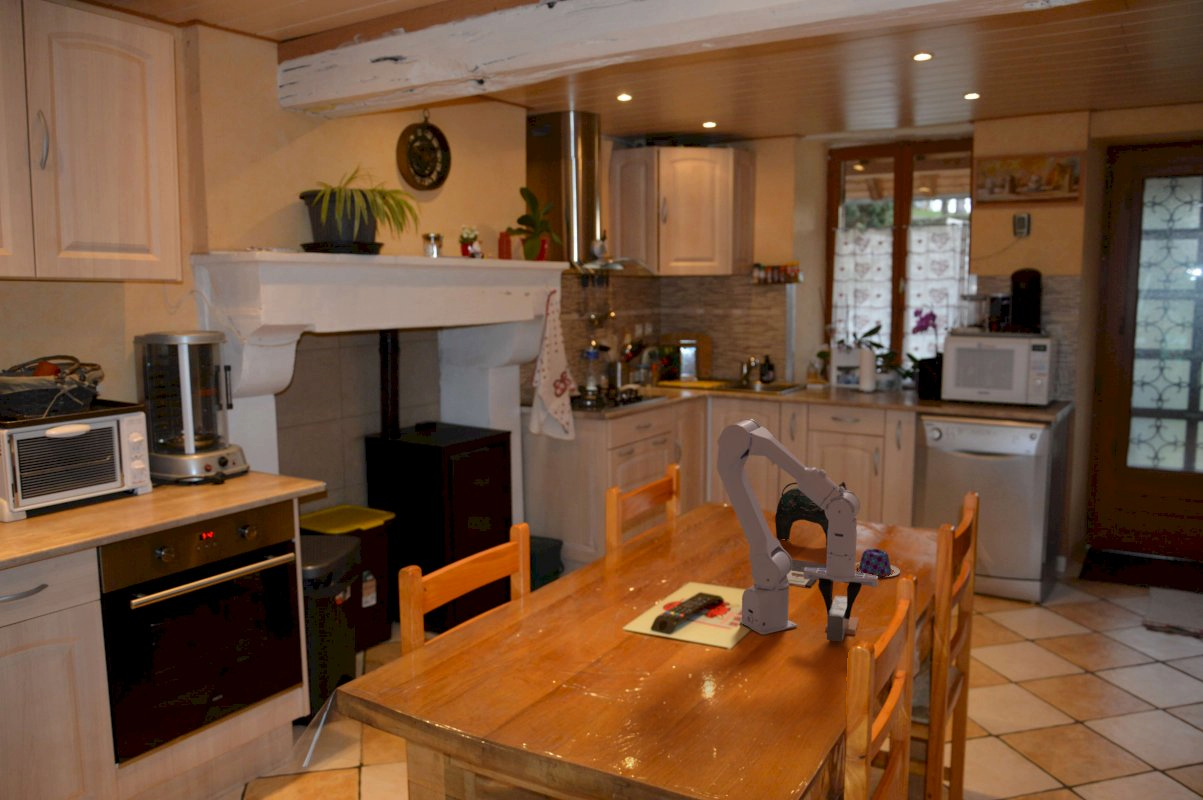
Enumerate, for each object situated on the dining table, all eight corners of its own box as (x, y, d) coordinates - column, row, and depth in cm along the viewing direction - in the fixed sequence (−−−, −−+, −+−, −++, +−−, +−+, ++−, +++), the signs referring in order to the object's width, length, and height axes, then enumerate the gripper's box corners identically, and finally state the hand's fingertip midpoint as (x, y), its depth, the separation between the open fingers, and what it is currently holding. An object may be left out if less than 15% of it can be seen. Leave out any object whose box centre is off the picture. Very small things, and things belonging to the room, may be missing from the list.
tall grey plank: (842, 641, 182) (843, 617, 181) (826, 639, 183) (827, 615, 182) (849, 619, 193) (850, 597, 192) (834, 617, 194) (835, 595, 193)
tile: (855, 629, 189) (858, 617, 196) (825, 626, 191) (829, 614, 198) (854, 636, 189) (858, 624, 196) (825, 632, 192) (829, 621, 198)
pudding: (907, 579, 225) (908, 558, 224) (859, 580, 224) (860, 559, 223) (889, 563, 236) (890, 544, 236) (843, 564, 236) (844, 545, 235)
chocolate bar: (828, 564, 233) (810, 585, 217) (827, 568, 233) (810, 589, 218) (793, 559, 237) (773, 580, 221) (793, 563, 237) (773, 583, 222)
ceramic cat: (848, 546, 251) (851, 474, 248) (841, 552, 246) (844, 478, 243) (779, 535, 261) (781, 466, 259) (771, 540, 256) (773, 470, 253)
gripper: (801, 553, 185) (799, 618, 187) (876, 561, 179) (873, 628, 181) (807, 544, 191) (805, 606, 193) (879, 551, 186) (877, 615, 188)
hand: (838, 616), depth 188 cm, fingers closed on tall grey plank, 3 cm apart
